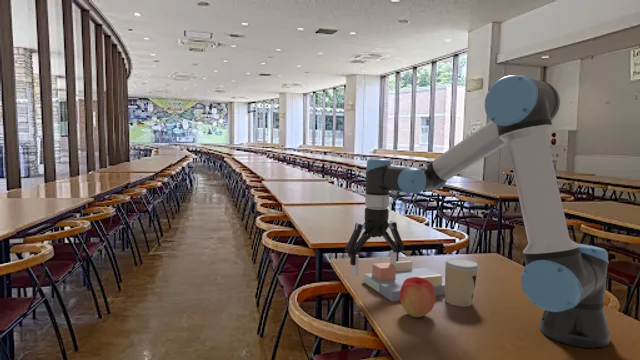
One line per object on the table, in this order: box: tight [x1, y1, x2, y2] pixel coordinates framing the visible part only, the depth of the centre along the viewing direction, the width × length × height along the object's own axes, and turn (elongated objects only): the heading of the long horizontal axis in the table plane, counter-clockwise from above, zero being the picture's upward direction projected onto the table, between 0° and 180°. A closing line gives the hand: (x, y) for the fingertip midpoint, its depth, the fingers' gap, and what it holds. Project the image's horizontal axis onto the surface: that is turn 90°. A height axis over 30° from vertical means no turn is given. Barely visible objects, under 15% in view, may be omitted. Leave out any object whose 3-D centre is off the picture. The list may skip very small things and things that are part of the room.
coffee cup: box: [444, 257, 479, 307], centre depth 131 cm, size 9×9×12 cm
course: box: [362, 260, 445, 302], centre depth 143 cm, size 18×24×6 cm
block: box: [371, 262, 396, 281], centre depth 143 cm, size 6×6×4 cm
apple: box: [400, 277, 436, 318], centre depth 120 cm, size 10×10×10 cm
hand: (374, 273), depth 142 cm, fingers open, 13 cm apart
